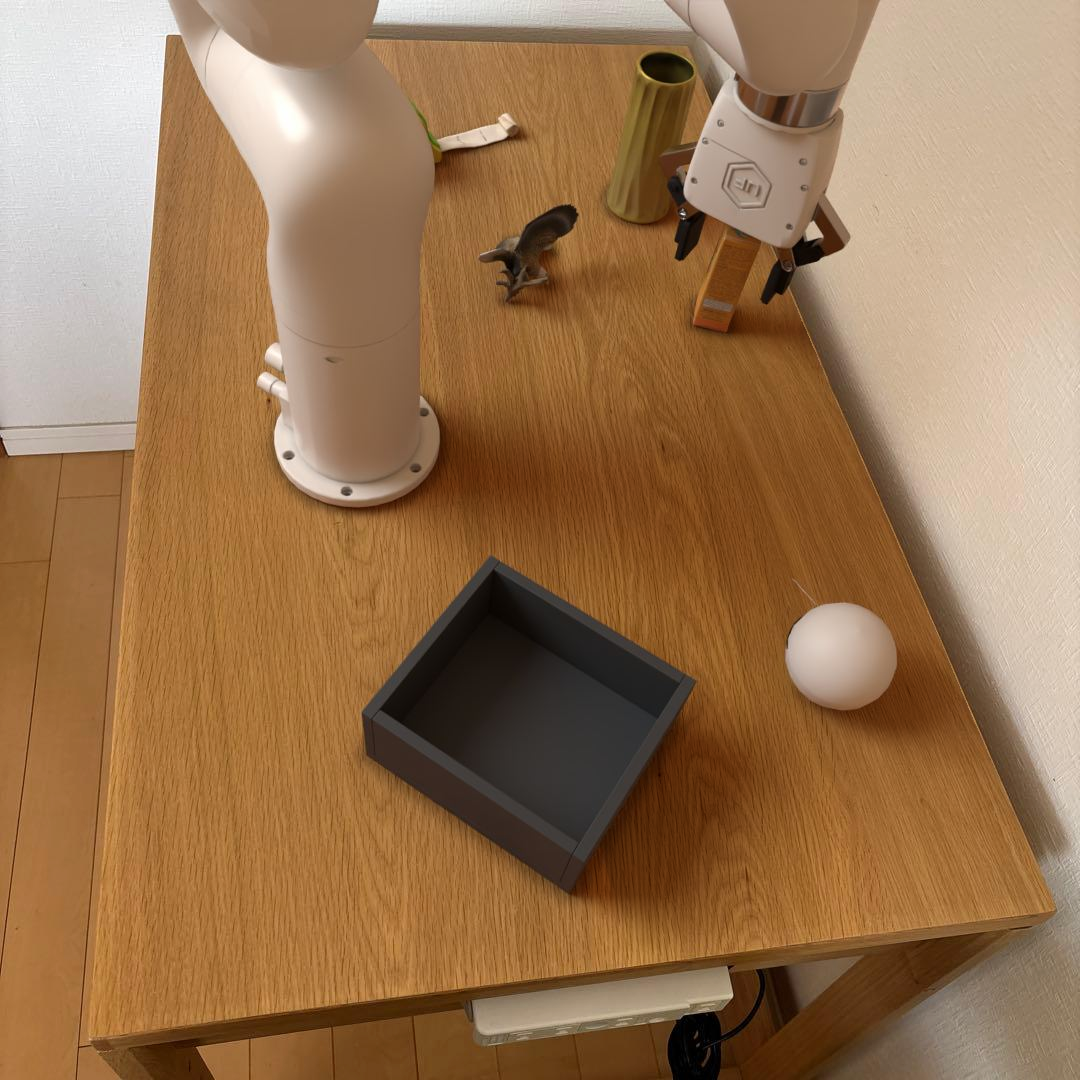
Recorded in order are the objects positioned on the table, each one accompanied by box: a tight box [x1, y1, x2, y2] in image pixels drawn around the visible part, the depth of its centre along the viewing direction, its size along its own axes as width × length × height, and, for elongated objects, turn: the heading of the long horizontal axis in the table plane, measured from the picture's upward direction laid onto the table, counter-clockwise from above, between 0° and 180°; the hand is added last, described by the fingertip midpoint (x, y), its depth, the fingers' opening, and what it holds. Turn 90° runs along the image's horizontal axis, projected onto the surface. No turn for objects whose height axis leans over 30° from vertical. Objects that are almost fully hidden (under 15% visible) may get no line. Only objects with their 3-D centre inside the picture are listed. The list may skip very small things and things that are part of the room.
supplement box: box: [692, 223, 762, 333], centre depth 87 cm, size 3×3×10 cm
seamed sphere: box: [784, 577, 898, 711], centre depth 70 cm, size 10×7×7 cm
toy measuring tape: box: [407, 96, 520, 164], centre depth 97 cm, size 6×20×7 cm, turn 118°
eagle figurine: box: [477, 203, 580, 303], centre depth 90 cm, size 8×7×9 cm
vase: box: [605, 48, 698, 225], centre depth 93 cm, size 6×6×14 cm
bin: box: [360, 554, 698, 894], centre depth 65 cm, size 16×14×7 cm
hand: (728, 272), depth 87 cm, fingers open, 7 cm apart
